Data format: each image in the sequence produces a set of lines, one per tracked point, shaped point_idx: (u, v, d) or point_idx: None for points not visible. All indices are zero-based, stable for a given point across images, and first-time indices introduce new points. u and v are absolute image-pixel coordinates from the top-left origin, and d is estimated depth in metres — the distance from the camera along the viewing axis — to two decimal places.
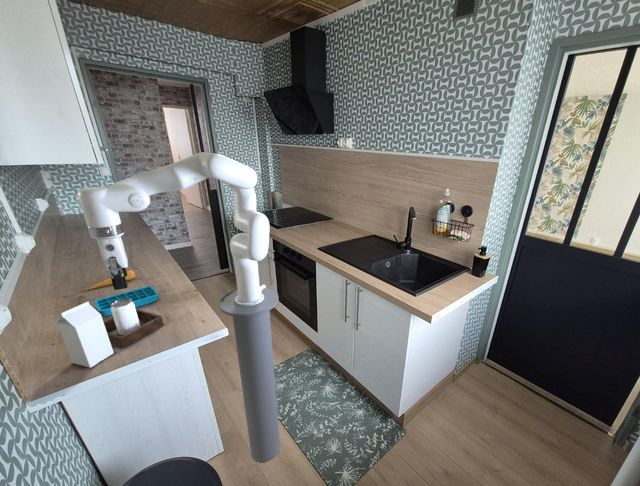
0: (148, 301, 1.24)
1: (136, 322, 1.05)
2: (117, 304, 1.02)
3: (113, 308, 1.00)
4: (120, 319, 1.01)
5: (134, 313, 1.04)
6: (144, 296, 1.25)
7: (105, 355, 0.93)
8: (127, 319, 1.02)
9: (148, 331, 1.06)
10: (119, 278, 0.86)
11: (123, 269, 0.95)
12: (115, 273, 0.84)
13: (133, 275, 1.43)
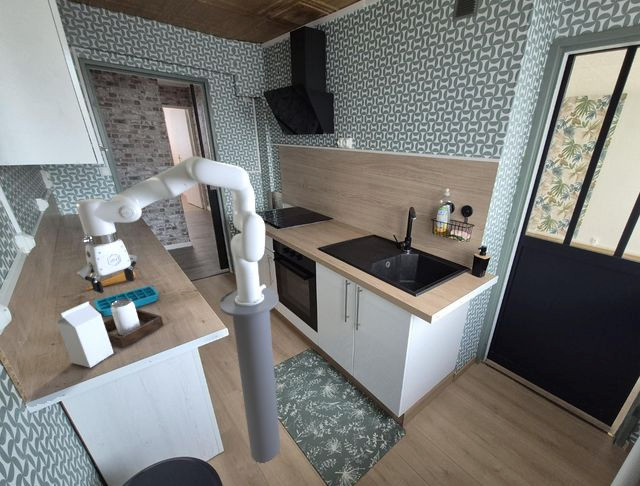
0: (148, 301, 1.24)
1: (136, 322, 1.05)
2: (117, 304, 1.02)
3: (113, 308, 1.00)
4: (120, 319, 1.01)
5: (134, 313, 1.04)
6: (144, 296, 1.25)
7: (105, 355, 0.93)
8: (127, 319, 1.02)
9: (148, 331, 1.06)
10: (93, 283, 0.93)
11: (129, 274, 1.02)
12: (83, 278, 0.90)
13: None
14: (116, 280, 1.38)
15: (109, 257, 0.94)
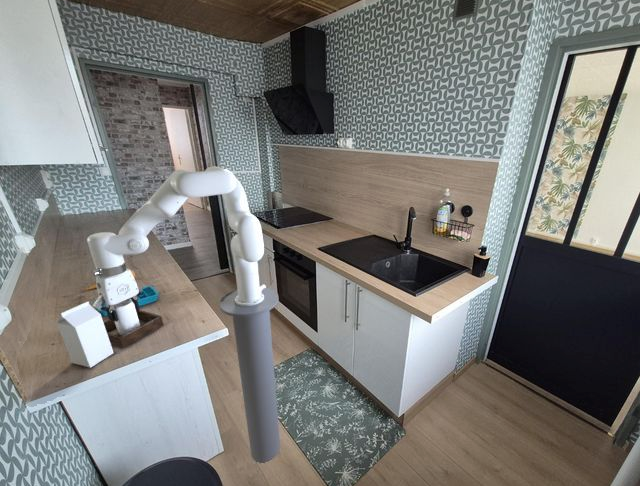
0: (148, 301, 1.24)
1: (136, 322, 1.05)
2: (117, 304, 1.02)
3: None
4: (120, 319, 1.01)
5: (134, 313, 1.04)
6: (144, 296, 1.25)
7: (104, 355, 0.93)
8: (127, 319, 1.02)
9: (148, 331, 1.06)
10: (109, 312, 0.99)
11: None
12: None
13: (133, 275, 1.43)
14: None
15: (118, 287, 0.98)
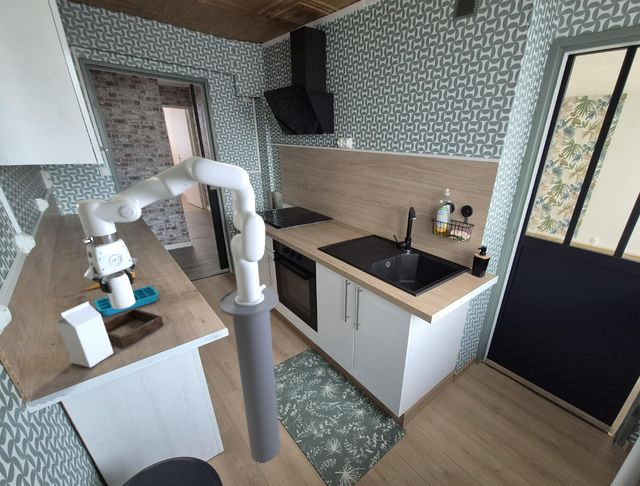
0: (148, 301, 1.24)
1: (130, 295, 1.02)
2: (110, 276, 0.98)
3: (106, 280, 0.96)
4: (113, 291, 0.97)
5: (128, 286, 1.00)
6: (144, 296, 1.25)
7: (104, 355, 0.93)
8: (121, 292, 0.98)
9: (148, 331, 1.06)
10: None
11: (128, 277, 1.02)
12: (91, 279, 0.92)
13: (133, 275, 1.43)
14: None
15: (111, 257, 0.94)
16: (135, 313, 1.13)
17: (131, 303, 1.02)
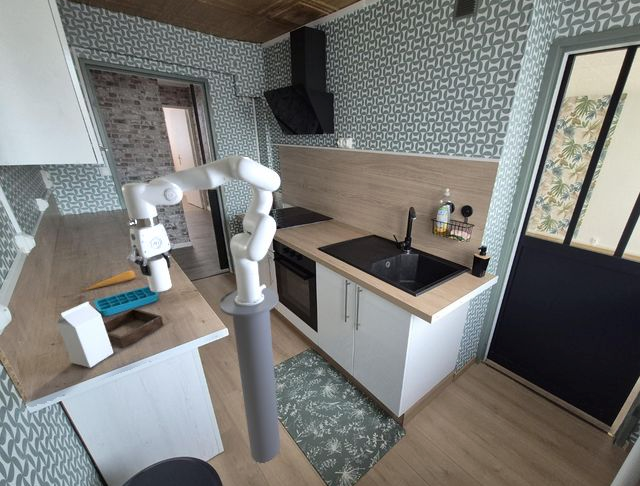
0: (148, 301, 1.24)
1: (168, 279, 1.03)
2: (149, 259, 1.00)
3: None
4: (153, 274, 0.99)
5: (166, 269, 1.02)
6: (144, 296, 1.25)
7: (104, 355, 0.93)
8: (160, 275, 1.00)
9: (148, 331, 1.06)
10: (142, 266, 0.97)
11: (166, 261, 1.04)
12: (133, 261, 0.94)
13: (133, 275, 1.43)
14: (116, 280, 1.38)
15: (152, 240, 0.96)
16: (135, 313, 1.13)
17: (168, 286, 1.04)
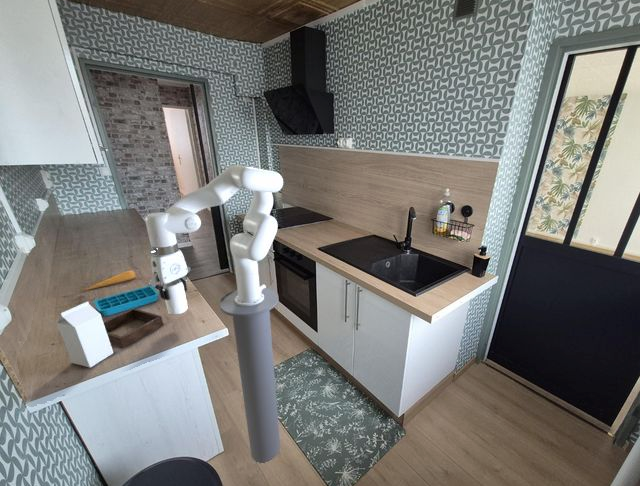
0: (148, 301, 1.24)
1: (185, 302, 1.08)
2: (168, 283, 1.05)
3: None
4: (171, 298, 1.04)
5: (183, 293, 1.07)
6: (144, 296, 1.25)
7: (104, 355, 0.93)
8: (178, 298, 1.05)
9: (148, 331, 1.06)
10: (162, 291, 1.02)
11: None
12: (153, 287, 0.99)
13: (133, 275, 1.43)
14: (116, 280, 1.38)
15: (171, 266, 1.01)
16: (135, 313, 1.13)
17: (185, 309, 1.09)
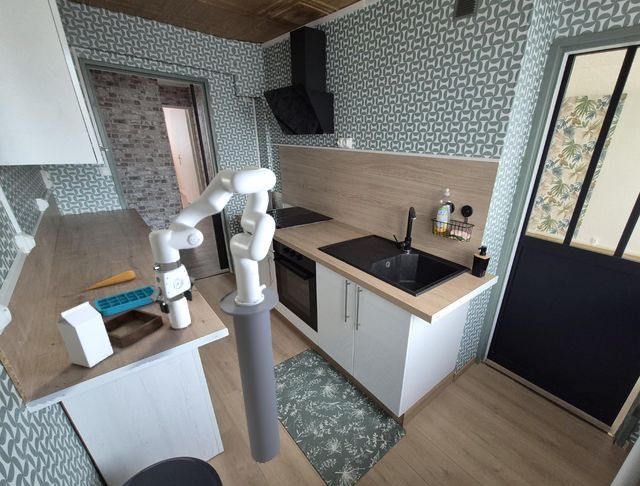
0: (148, 301, 1.24)
1: (188, 316, 1.11)
2: (171, 298, 1.07)
3: (168, 302, 1.05)
4: (175, 313, 1.06)
5: (186, 307, 1.09)
6: (144, 296, 1.25)
7: (104, 355, 0.93)
8: (181, 313, 1.08)
9: (148, 331, 1.06)
10: (161, 305, 1.02)
11: (188, 295, 1.12)
12: (153, 301, 1.00)
13: (133, 275, 1.43)
14: (116, 280, 1.38)
15: (175, 281, 1.03)
16: (135, 313, 1.13)
17: (188, 323, 1.11)
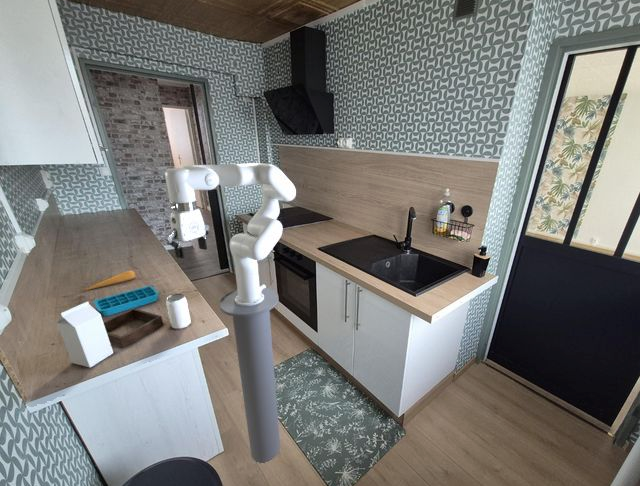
0: (148, 301, 1.24)
1: (188, 316, 1.11)
2: (171, 298, 1.07)
3: (168, 302, 1.05)
4: (175, 313, 1.06)
5: (186, 307, 1.09)
6: (144, 296, 1.25)
7: (104, 355, 0.93)
8: (181, 313, 1.08)
9: (148, 331, 1.06)
10: (176, 248, 0.99)
11: (203, 243, 1.08)
12: (169, 242, 0.96)
13: (133, 275, 1.43)
14: (116, 280, 1.38)
15: (190, 224, 0.99)
16: (135, 313, 1.13)
17: (188, 323, 1.11)
